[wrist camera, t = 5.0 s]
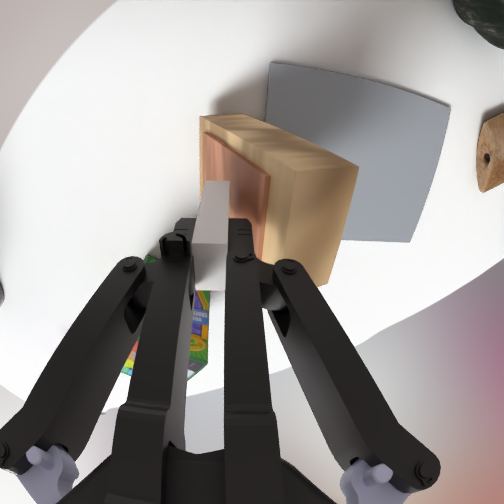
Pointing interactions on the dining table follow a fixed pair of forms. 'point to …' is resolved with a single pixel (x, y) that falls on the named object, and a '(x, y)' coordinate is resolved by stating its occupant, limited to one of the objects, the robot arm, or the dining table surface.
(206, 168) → the oak slab
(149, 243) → the dining table surface
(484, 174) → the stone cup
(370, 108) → the mat
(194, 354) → the chalk box
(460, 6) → the squash
